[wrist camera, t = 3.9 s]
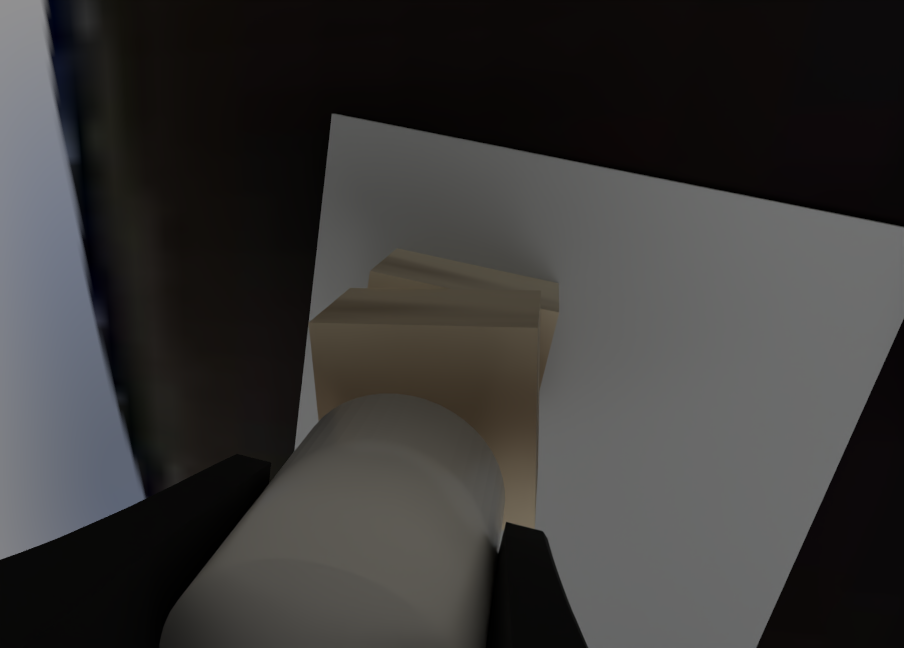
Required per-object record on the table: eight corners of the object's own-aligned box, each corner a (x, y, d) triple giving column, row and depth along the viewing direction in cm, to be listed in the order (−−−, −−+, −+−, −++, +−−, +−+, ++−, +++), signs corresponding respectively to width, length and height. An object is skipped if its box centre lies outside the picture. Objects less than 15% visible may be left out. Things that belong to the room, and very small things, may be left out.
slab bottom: (522, 429, 21) (517, 478, 18) (374, 393, 21) (346, 437, 18) (558, 283, 19) (559, 312, 16) (397, 248, 19) (369, 271, 17)
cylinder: (486, 599, 12) (450, 849, 8) (291, 554, 13) (160, 771, 9) (522, 418, 11) (501, 604, 7) (303, 374, 11) (156, 524, 7)
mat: (704, 747, 24) (706, 757, 24) (277, 629, 25) (273, 637, 25) (932, 232, 17) (941, 235, 17) (336, 113, 19) (332, 113, 18)
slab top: (538, 465, 18) (534, 532, 15) (363, 455, 18) (328, 517, 15) (540, 290, 16) (537, 327, 13) (350, 288, 17) (308, 322, 14)
